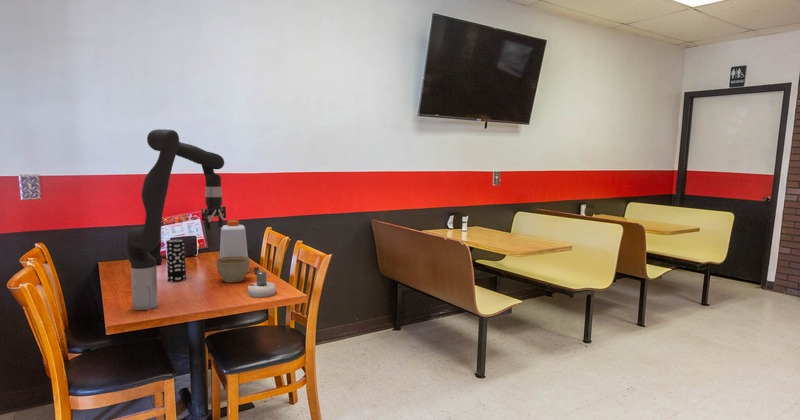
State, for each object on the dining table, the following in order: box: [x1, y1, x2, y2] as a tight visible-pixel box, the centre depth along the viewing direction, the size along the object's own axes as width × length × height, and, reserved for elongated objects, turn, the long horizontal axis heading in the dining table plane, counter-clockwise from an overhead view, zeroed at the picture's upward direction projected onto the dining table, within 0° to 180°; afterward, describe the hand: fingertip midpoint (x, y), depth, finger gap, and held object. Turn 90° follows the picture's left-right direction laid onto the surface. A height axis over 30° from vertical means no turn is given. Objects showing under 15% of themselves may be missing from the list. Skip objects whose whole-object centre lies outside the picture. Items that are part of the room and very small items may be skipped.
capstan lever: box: [253, 266, 268, 286], centre depth 223 cm, size 14×4×6 cm, turn 29°
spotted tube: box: [165, 238, 187, 283], centre depth 238 cm, size 8×8×20 cm
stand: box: [247, 281, 276, 299], centre depth 219 cm, size 12×12×5 cm
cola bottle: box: [148, 234, 163, 267], centre depth 268 cm, size 8×8×30 cm
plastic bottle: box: [219, 219, 250, 273], centre depth 257 cm, size 15×15×28 cm
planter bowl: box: [215, 256, 251, 283], centre depth 240 cm, size 16×16×11 cm
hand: (214, 228), depth 234 cm, fingers open, 8 cm apart
